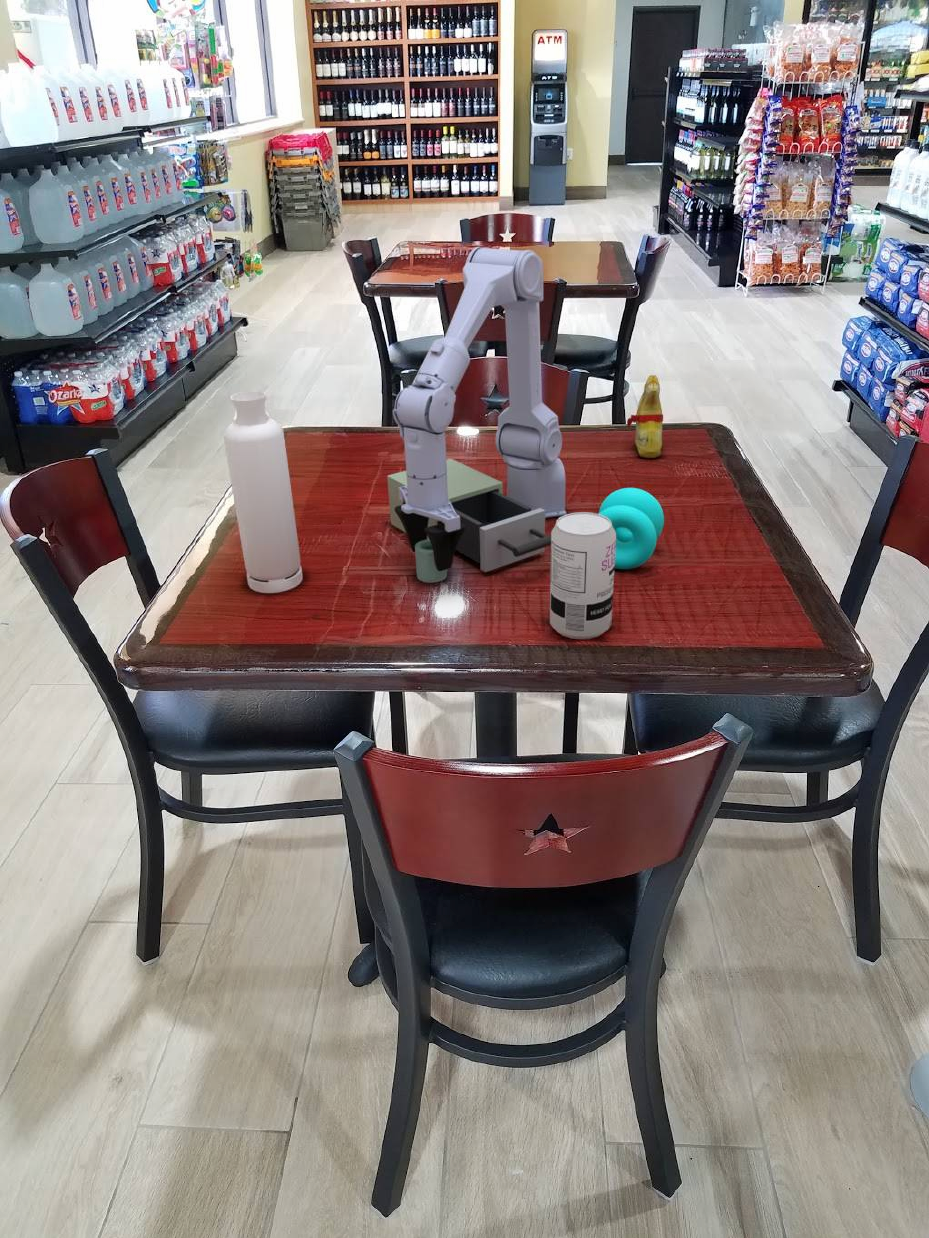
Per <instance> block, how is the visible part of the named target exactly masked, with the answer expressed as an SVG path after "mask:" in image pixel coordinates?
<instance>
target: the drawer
mask: <svg viewBox="0 0 929 1238" xmlns="http://www.w3.org/2000/svg"><path fill="white" fill-rule="evenodd" d="M451 504H452V506H453V509H454V511H455V512H456V514H457V515H459V516H460V522H462V523H463V524H464V525H465V531H464V532H463V534H462V536H461V537H460V539H459V541H458V544H457V547H456V550H455V551H457V552H459V553H461V554H462V555H464V556H466V557H468V558H469V559H471V560H472V561H474V562H475V563H478V564H480V571H482V572H484V573H487V572H490V571H493V570H496V569H499V568H501V567H504V566H507V565H510V564H513V563H515V562H518V561H521V560H524V559H526V558H527V559H528V558H530V557H532V556H535V555H538V554H541V553H544V552H545V550H546V549H545V548H547V547H549V546H551V534H549V535H547V534H546V518H545V510H543V509H541V508H539V509H536V510H533V511H531V508H530V507H528V506H526V505H524V504H522V503H520V502H518V501H516V500H514V499H511V498H509V497H507V495H505V494H504V493H503V494H501V493H499V492H497V491H495V490H492V491H489V492H485V493H482V494H479V495H475V496H472V497H469V498H466V499H462V500H459V501H456V502H452V503H451Z"/></svg>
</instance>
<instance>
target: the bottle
mask: <svg viewBox="0 0 929 1238" xmlns="http://www.w3.org/2000/svg"><path fill="white" fill-rule="evenodd" d="M229 398H230V399H229V400H230V403H231V404H232V405H233V406H234V408H235V409H234V416H233V421H232V422H231V423H230V424H228V426H227V427H226V428H225V430H224V434H223V442H224V447H225V454H226V458H227V465H228V471H229V477H230V483H231V484H230V485H231V490H232V495H233V502H234V507H235V513H236V520H237V526H238V532H239V538H240V545H241V549H242V550H241V551H242V556H243V563H244V569H245V571H246V580H247V585H248V587H249V589H251V590H253V591H254V592H257V593H263V594H278V593H282V592H286V591H289V590H293V589H294V588H296V587H298V585H300V584H301V583H302V581H303V569H302V565H301V554H300V545H299V538H298V532H297V524H296V516H295V507H294V500H293V493H292V486H291V477H290V471H289V463H288V462H289V461H288V455H287V449H286V439H285V433H284V428H283V426H282V425H281V424H280V423H279V422H278V421H277V420H275V419H273V418H271V417H270V415H269V413H268V412H267V411H266V407H265V405H266V400H267V393H266V392H265V391H261V390H245V391H240V392H239V391H238V392H235V393H233V394H231V395H230V397H229Z"/></svg>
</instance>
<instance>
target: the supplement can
mask: <svg viewBox="0 0 929 1238" xmlns="http://www.w3.org/2000/svg"><path fill="white" fill-rule="evenodd" d="M550 535H551V545H550V582H549V583H550V586H549V588H550V591H549V594H550V596H549V624H550V626H551V627H552V628H553V630H555V631H556V633H558V634H559V635H561V636H563V637H566V638H569V639H575V640H590V639H593V638H597V637H600V636H602V635H603V634H605V632H607V631H608V630H609V629H610V627H611V626H612V621H613V620H612V619H613V601H614V585H615V584H614V583H615V582H614V581H615V568H614V567H615V549H616V532H615V530H614V528H613V526H612V523H611V521H610V520H609V519H608V518H607V517H605V516H603V515H600V514H599V513H596V512H589V511H587V512H586V511H581V512H580V511H579V512H577V511H576V512H571V513H566V515H562V516H559V517H558V519H556V522H555V525H554V527H553V528H552V530H551V532H550Z"/></svg>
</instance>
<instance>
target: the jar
mask: <svg viewBox="0 0 929 1238" xmlns="http://www.w3.org/2000/svg"><path fill="white" fill-rule="evenodd" d="M414 553H415V554H414V555H415V570H416V578H417V579H418V581H421V582H423V583H431V584H433V583H439V582H442V581H445V579H447V577H448V569H446V570H443V571H438V570H437V568H436V565H435V560H434V554H433V549H432V545H431V542H430V540H429V539H427V540H423V541H420V542H418V543H416V545H415V552H414Z"/></svg>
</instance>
